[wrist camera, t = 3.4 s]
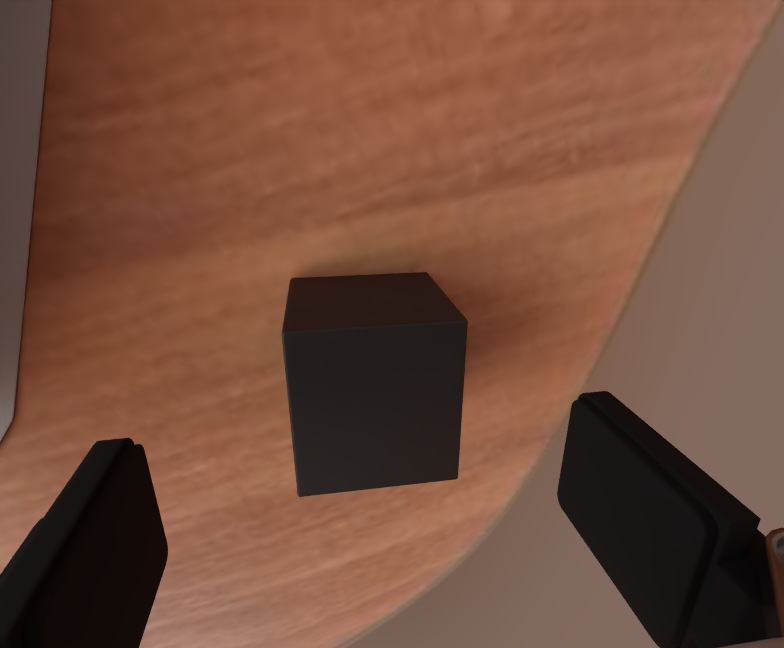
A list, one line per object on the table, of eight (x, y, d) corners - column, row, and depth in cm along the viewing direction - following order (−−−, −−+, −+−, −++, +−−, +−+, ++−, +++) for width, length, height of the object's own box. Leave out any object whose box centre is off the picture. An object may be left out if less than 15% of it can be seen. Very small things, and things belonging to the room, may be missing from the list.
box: (427, 271, 16) (468, 320, 12) (423, 398, 18) (458, 479, 13) (290, 277, 15) (281, 331, 11) (301, 408, 17) (297, 498, 13)
